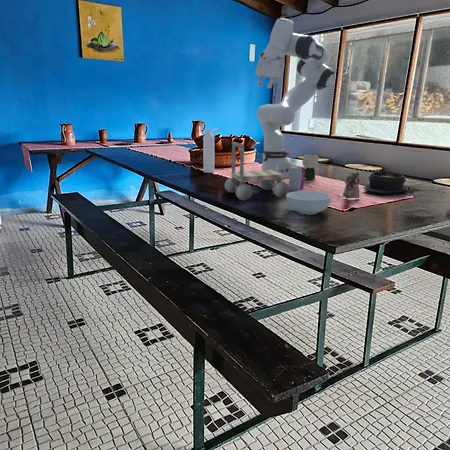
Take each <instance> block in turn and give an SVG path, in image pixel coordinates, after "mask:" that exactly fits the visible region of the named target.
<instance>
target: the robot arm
mask: <svg viewBox="0 0 450 450" xmlns="http://www.w3.org/2000/svg"><path fill="white" fill-rule="evenodd" d="M294 23H295V22H294V21H293V20H290V19H287V18H283V17H281V18H277V19H276V20H275V23H274V25H273V27H272V30H271V33H270V36H269V42H268V44H267V45H266V48H265V49H264V50H263V51H262V52H260V53H259V59H258V62H257V65H256V68H255V75H256V76H257V77H258V80H257V81H258V82H257V87H262V86H263V84H264V83H263V80H264V78H269V81H268V83H266V88H267V89H272V88H273V84H275V82H276V80H280V79H282V77H283V74H284V70H285V56H290V57H295V58H299V61H298V62H297V65H296V71H297V73H298V74H299V75H300V76H302V77H303V78H305V79H304V80H303V81H301V82H299V83H297V84H296V85H295V86H294V87H292V88H291V89H290V90H289V91H287V92H286V93H284V94H283V97H282V100H281V102H279V103H275V104H274V103H273V104H272V103H267V104H262V105H261V106H259V107H258V108H257V110H256V118H257V120H258V122H259V123H260V125H261V128H262V132H263V133H262V134H263V150H262V166H261V170H272V171H275V172H278V173H280V174H282V179H286V178H288V179H289V174H290V167H293V166H296V165H295V164H294V163H293V162H292V161H291V160H290V159H289V158H287V157H289V156H290V154H291V152H289V151H285V150H284V148H285V136H284V134H283V133H282V132H281V129H280V128H281V127H284V126H289V125H291V124H293V122H294V121H295V117H296V112H297V111H298V110H299V109H300V108H302V107H303V106H304V105H306V104H307V103H308V102H309V100H311V98H313V96H314V95H315V94H316V92H317V90H318V91H321V90H323V89H327V88H328V87H330V86H331V85H332V83H333V82H334V80H335V77H336V75H335V74H336V73H335V71H334V70H333V68H331V67H329V66H328V65H326V64H325V63H326V62H327V61H328V59H329V50H328V49H327V48H326V46H325V45H323V44H322V43H320V42H317V41H316V39H315V38H314V37H313V36H312V35H311V34H310V35H308V34H301V33H297V32H294V30H293V28H294Z"/></svg>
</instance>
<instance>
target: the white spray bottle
mask: <svg viewBox="0 0 450 450" xmlns="http://www.w3.org/2000/svg"><path fill="white" fill-rule="evenodd" d="M212 131H218V128H213V129H211V128H207V129H206V131H205V133H204V134H203V137H202V138H203V139H202V141H203V143H202V145H203V148H202V149H203V150H202V151H203V152H202V153H203V155H202V156H203V163H202V164H203V169H202V170H203V173H206V174H208V173H209V174H211V173H214V172H215V135H214V134H213V132H212Z"/></svg>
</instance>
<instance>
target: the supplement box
mask: <svg viewBox="0 0 450 450" xmlns="http://www.w3.org/2000/svg"><path fill="white" fill-rule="evenodd" d="M305 169H306V167H304V166H297V165H295V166H293V167H290V174H289V177H288V186H289V190H291V191H290V192H294V191H300V190H302V189H303V190H304V186H305V185H304V183H305V178H304V176H305ZM303 190H302V191H303Z"/></svg>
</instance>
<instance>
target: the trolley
mask: <svg viewBox="0 0 450 450" xmlns="http://www.w3.org/2000/svg"><path fill="white" fill-rule="evenodd" d="M236 147H238V148H239V149H240V150H239V151H240V153H239V155H240V156H239V157H240V158H239V171H236V151H237V150H236ZM244 159H245V145H244V144H242V143H239V142H235V141H232V142H231V172H230V173H231V174H230V175H231V177H229V178H227V179H226V180H225V182H224V188H225V190H226V191H227V193H231V194H235V195H236V197H237V198H238V199H239V200H241V201H247V200H249V199H251V197H252V195H253V189H252V187H251V186H250V185H249V184H246V182H254V181H255V182H256V181H259V187H260V188H261V189H263V190H265V191H271V190H272V192H273V194H274V196H276V197H277V198H284V197H286V195H287V194H288V193H289V192H290V191H289V183H286V182H285V181H283V178H282V174H280V173H278V172H275V171H272V170H262V169H260V170H246V171H245V170H244V169H245V168H244V167H245V166H244V162H245V161H244ZM275 182H276V183H275Z"/></svg>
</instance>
